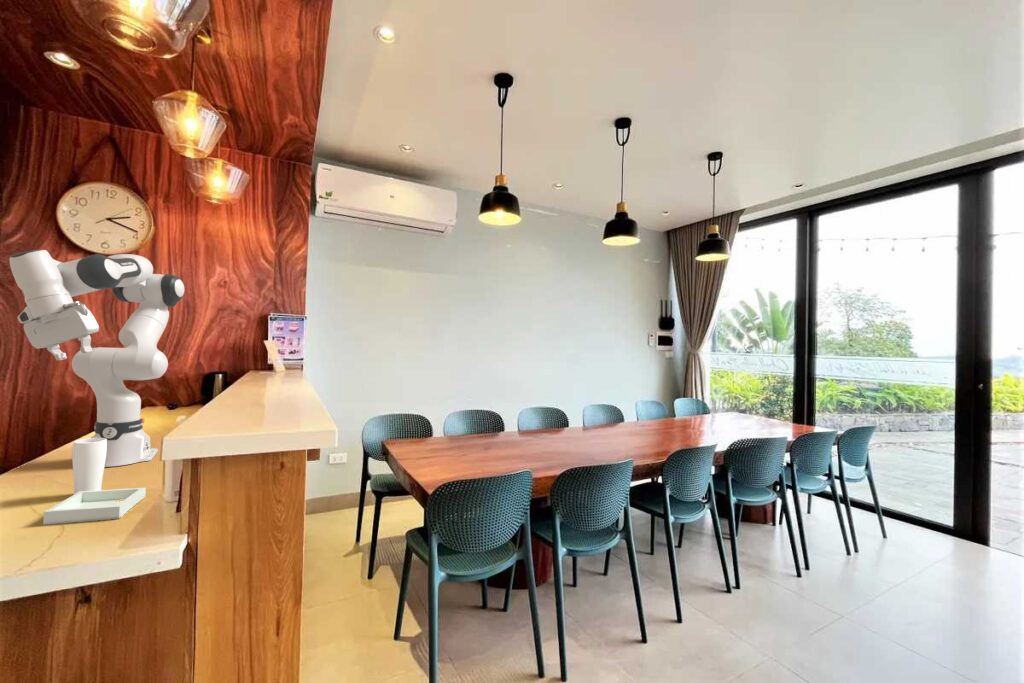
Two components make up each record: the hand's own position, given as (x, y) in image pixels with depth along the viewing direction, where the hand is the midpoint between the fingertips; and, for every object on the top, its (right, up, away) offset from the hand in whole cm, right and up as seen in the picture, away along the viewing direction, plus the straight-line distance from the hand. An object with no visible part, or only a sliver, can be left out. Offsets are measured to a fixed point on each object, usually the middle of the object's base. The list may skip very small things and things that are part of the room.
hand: (74, 356), depth 122 cm
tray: (+19, -38, -13) cm, 45 cm away
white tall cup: (+7, -38, -4) cm, 39 cm away
